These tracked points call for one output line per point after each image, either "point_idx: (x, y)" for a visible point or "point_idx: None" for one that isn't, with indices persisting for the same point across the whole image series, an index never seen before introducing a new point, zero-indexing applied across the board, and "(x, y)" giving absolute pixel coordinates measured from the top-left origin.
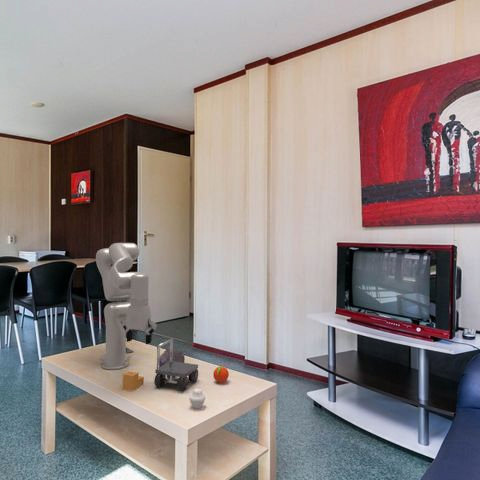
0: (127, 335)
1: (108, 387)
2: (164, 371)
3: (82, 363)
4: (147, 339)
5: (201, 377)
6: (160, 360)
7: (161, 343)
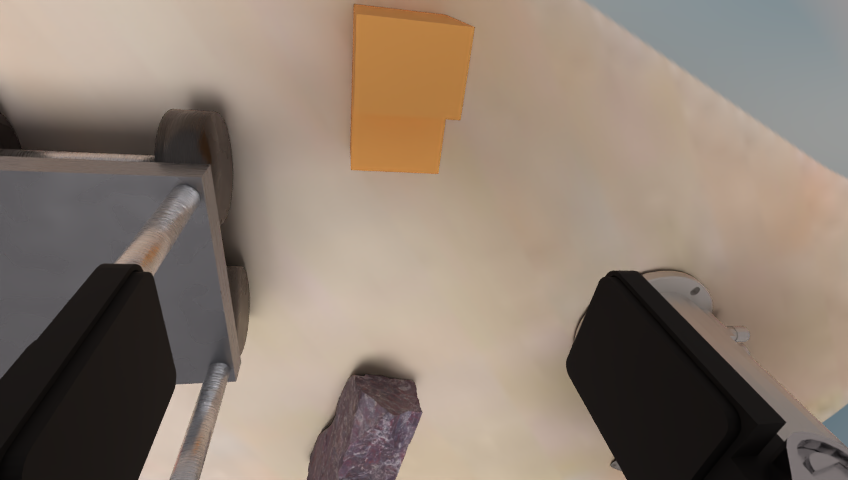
0: (703, 361)
1: (562, 18)
2: (86, 171)
3: (812, 293)
4: (48, 360)
5: None
6: (386, 405)
7: None
